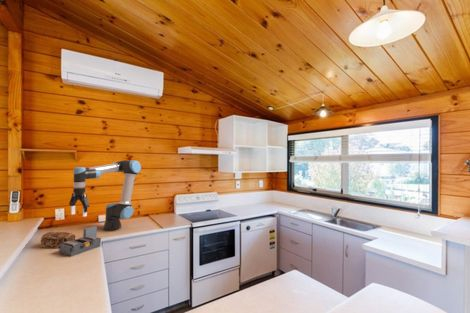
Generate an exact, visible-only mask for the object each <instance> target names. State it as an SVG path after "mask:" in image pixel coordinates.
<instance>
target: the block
mask: <svg viewBox="0 0 470 313" xmlns="http://www.w3.org/2000/svg"><path fill="white" fill-rule="evenodd" d="M97 231H98V227H97V226H96V225H93V226H89V227H86V228H83V233H82V238H83V237H84V236H87V235H88V236H93V237H98V234H97Z"/></svg>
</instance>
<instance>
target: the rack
mask: <svg viewBox="0 0 470 313" xmlns="http://www.w3.org/2000/svg"><path fill="white" fill-rule="evenodd" d="M101 241H102V238H101V237H98V236H97V237H93V236H88V235H87V236H84V237H83V236H82V237H80V238H75V240H72V241H67V242H64V243H62V244H59V248H58V254H61V255H64V256H67V257H74V256H77V255H80V254H84V253H85V252H88V251H91V250H94V249H97V248H100V247H101V244H102V243H101Z"/></svg>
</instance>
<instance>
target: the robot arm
mask: <svg viewBox="0 0 470 313" xmlns="http://www.w3.org/2000/svg"><path fill="white" fill-rule="evenodd" d="M141 170H142V165H141V163H140V162H139V161H138V160H134V159H133V160H131V159H129V160H127V159H126V160H123V159H122V160H119V161H114V162H112V163H109V164H102V165H95V166H92V167H86V166H84V167H83V166H80V167H79V166H77V167H73V190H72V193H71V198H70V201H69V203H68V205H69V206H70V216H71V215H76V204H77V202H78V201H80V203H81V205H82V218H83V217H85V218H86V217H87V216H88V208H89V207H90V203H89V200H88V194H86V180H92V179H99V178H100V177H101V176H102V175H104V174H109V173H123V174H124V180H123V185H122V191H121V197H120V201H119V202H114V203H107V204H106V206H105V222H104V225H103V227H102V229H103V230H104V231H116V230H119V228H120V229H121V228H122V221H121V219H122V220H128V219H130V218H131V217H132V216H133V214H134V207H132V206H133V204H132V202H131V200H132V195H133V191H134V190H133V189H134V184H135V178H136V177H137V176H138V174H139V173H140V172H141ZM115 229H116V230H115Z"/></svg>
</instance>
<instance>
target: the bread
mask: <svg viewBox="0 0 470 313" xmlns="http://www.w3.org/2000/svg"><path fill="white" fill-rule="evenodd" d="M40 238H41V239H40V247H41V248H42V249H44V248H46V249H59V244H62V243H64V242H67V241H72V240H76V235H75V233H73V232H66V231H56V232H55V231H50V232H49V231H48V232H46V233H45V234H42V236H41V237H40Z"/></svg>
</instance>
